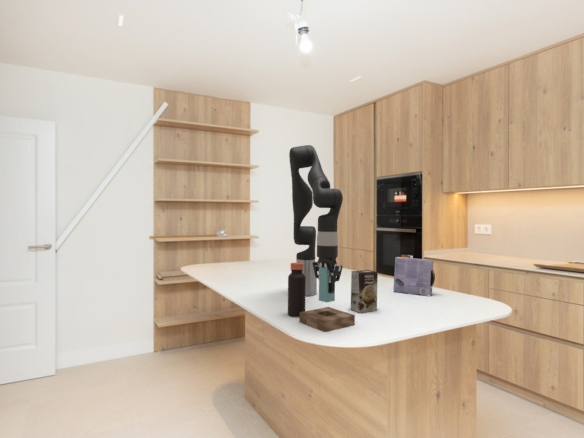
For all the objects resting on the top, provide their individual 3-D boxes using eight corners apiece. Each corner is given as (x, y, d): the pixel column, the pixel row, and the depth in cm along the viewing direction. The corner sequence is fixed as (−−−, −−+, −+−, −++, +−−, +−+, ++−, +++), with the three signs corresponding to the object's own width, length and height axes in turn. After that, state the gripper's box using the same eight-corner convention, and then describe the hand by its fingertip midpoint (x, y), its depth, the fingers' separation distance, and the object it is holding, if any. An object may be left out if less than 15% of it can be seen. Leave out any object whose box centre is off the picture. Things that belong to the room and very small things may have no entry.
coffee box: (359, 313, 148) (360, 272, 148) (350, 309, 154) (350, 270, 154) (377, 310, 153) (378, 271, 152) (367, 307, 158) (368, 269, 158)
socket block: (328, 315, 144) (328, 306, 144) (354, 324, 133) (354, 314, 133) (299, 321, 136) (299, 312, 136) (325, 331, 125) (325, 321, 125)
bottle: (299, 318, 141) (299, 265, 141) (284, 315, 145) (284, 263, 144) (308, 314, 147) (308, 263, 146) (293, 311, 150) (294, 261, 150)
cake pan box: (434, 295, 184) (435, 259, 184) (432, 296, 180) (433, 260, 179) (396, 290, 194) (396, 256, 194) (393, 292, 190) (393, 257, 190)
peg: (327, 298, 137) (327, 266, 137) (334, 300, 134) (335, 267, 134) (318, 300, 135) (319, 267, 135) (326, 302, 132) (326, 268, 131)
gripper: (349, 245, 131) (348, 294, 131) (322, 242, 142) (321, 287, 142) (333, 246, 126) (332, 296, 126) (306, 243, 138) (306, 289, 138)
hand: (326, 291), depth 134 cm, fingers closed on peg, 4 cm apart
